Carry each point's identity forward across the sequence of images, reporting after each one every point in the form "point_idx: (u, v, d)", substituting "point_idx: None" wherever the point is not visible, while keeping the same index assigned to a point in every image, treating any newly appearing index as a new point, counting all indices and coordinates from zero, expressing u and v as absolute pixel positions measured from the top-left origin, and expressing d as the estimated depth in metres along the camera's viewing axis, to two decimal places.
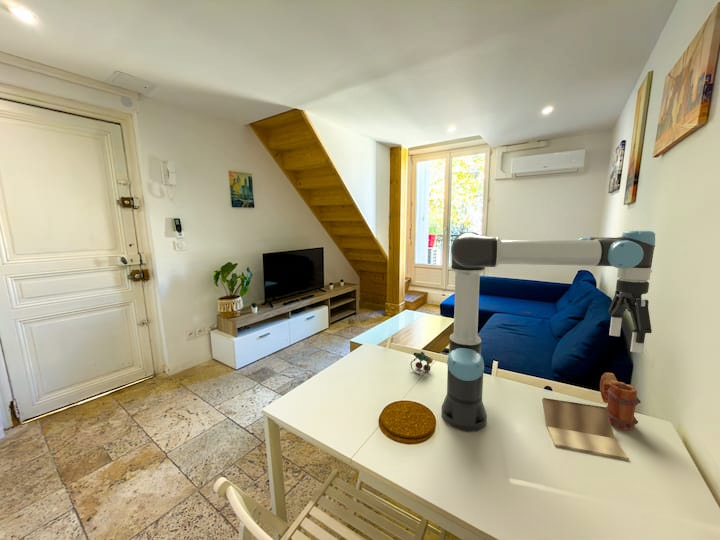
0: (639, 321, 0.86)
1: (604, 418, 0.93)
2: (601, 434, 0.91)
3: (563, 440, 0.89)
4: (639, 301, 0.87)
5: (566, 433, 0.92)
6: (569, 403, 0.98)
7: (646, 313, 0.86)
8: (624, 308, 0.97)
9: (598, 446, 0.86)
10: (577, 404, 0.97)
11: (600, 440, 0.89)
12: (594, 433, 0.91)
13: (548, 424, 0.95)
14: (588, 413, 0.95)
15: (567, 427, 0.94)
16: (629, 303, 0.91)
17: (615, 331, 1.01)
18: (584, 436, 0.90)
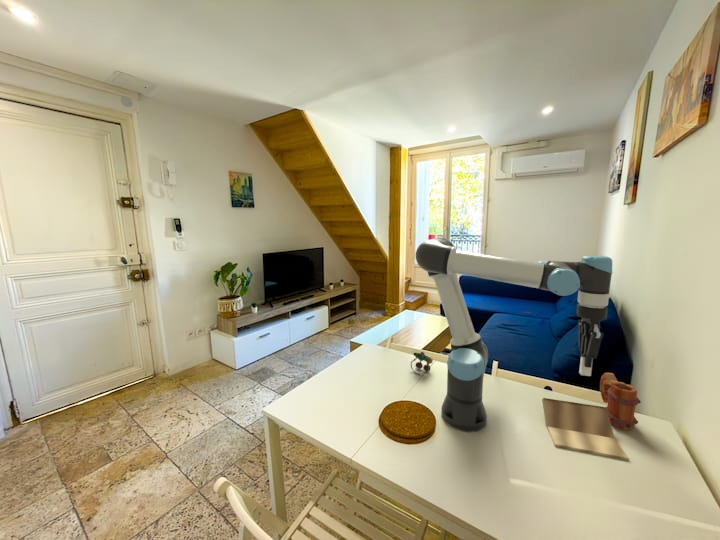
0: (588, 349, 0.90)
1: (604, 418, 0.93)
2: (601, 434, 0.91)
3: (563, 440, 0.89)
4: (594, 335, 0.87)
5: (566, 433, 0.92)
6: (569, 403, 0.98)
7: (597, 344, 0.88)
8: None
9: (598, 446, 0.86)
10: (577, 404, 0.97)
11: (600, 440, 0.89)
12: (594, 433, 0.91)
13: (548, 424, 0.95)
14: (588, 413, 0.95)
15: (567, 427, 0.94)
16: (587, 330, 0.91)
17: None
18: (584, 436, 0.90)
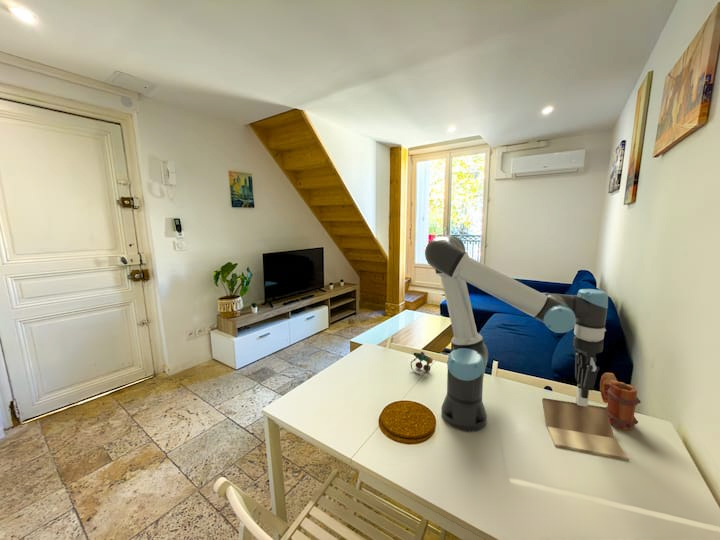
0: (585, 381, 0.92)
1: (604, 418, 0.93)
2: (601, 434, 0.91)
3: (563, 440, 0.89)
4: (590, 368, 0.89)
5: (566, 433, 0.92)
6: (569, 403, 0.98)
7: (593, 377, 0.90)
8: None
9: (598, 446, 0.86)
10: None
11: (600, 440, 0.89)
12: (594, 433, 0.91)
13: (548, 424, 0.95)
14: (588, 413, 0.95)
15: (567, 427, 0.94)
16: (583, 362, 0.93)
17: None
18: (584, 436, 0.90)
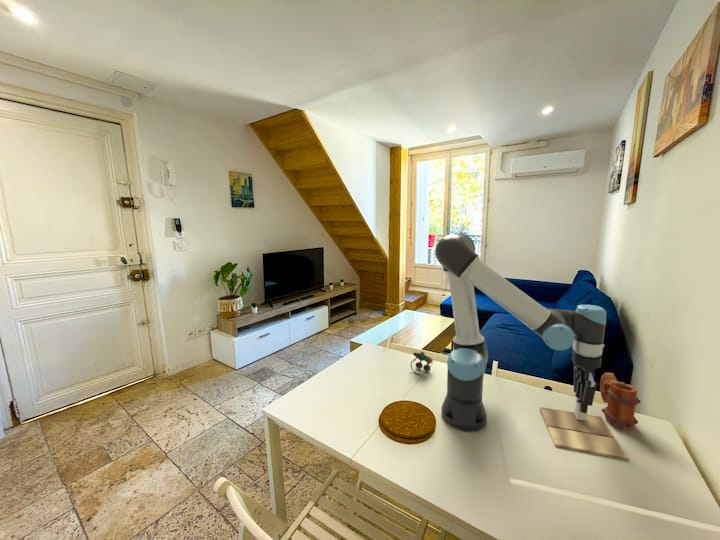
0: (584, 396, 0.93)
1: (600, 423, 0.95)
2: (600, 433, 0.91)
3: (563, 440, 0.89)
4: (589, 384, 0.90)
5: (566, 433, 0.92)
6: (565, 412, 1.01)
7: (592, 392, 0.91)
8: None
9: (598, 446, 0.86)
10: (573, 413, 1.00)
11: (600, 440, 0.89)
12: (593, 432, 0.92)
13: (547, 424, 0.96)
14: None
15: (566, 427, 0.94)
16: (582, 377, 0.94)
17: None
18: (584, 436, 0.90)
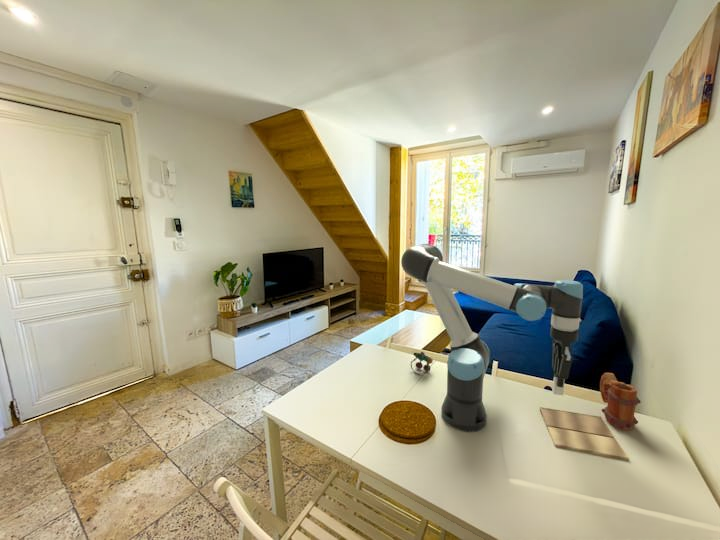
0: (560, 370, 0.94)
1: (600, 423, 0.95)
2: (600, 433, 0.91)
3: (563, 440, 0.89)
4: (565, 357, 0.91)
5: (566, 433, 0.92)
6: (565, 412, 1.01)
7: (568, 366, 0.92)
8: None
9: (598, 446, 0.86)
10: (573, 413, 1.00)
11: (600, 440, 0.89)
12: (593, 432, 0.92)
13: (547, 424, 0.96)
14: (585, 419, 0.97)
15: (566, 427, 0.94)
16: (559, 352, 0.95)
17: None
18: (584, 436, 0.90)
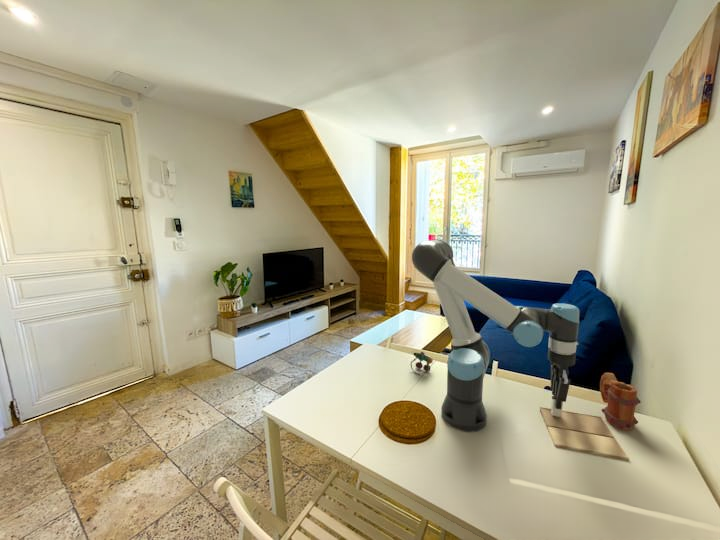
0: (558, 393, 0.95)
1: (600, 423, 0.95)
2: (600, 433, 0.91)
3: (563, 440, 0.89)
4: (562, 381, 0.92)
5: (566, 433, 0.92)
6: (565, 412, 1.01)
7: (566, 389, 0.93)
8: None
9: (598, 446, 0.86)
10: (573, 413, 1.00)
11: (600, 440, 0.89)
12: (593, 432, 0.92)
13: (547, 424, 0.96)
14: (585, 419, 0.97)
15: (566, 427, 0.94)
16: (557, 374, 0.96)
17: None
18: (584, 436, 0.90)
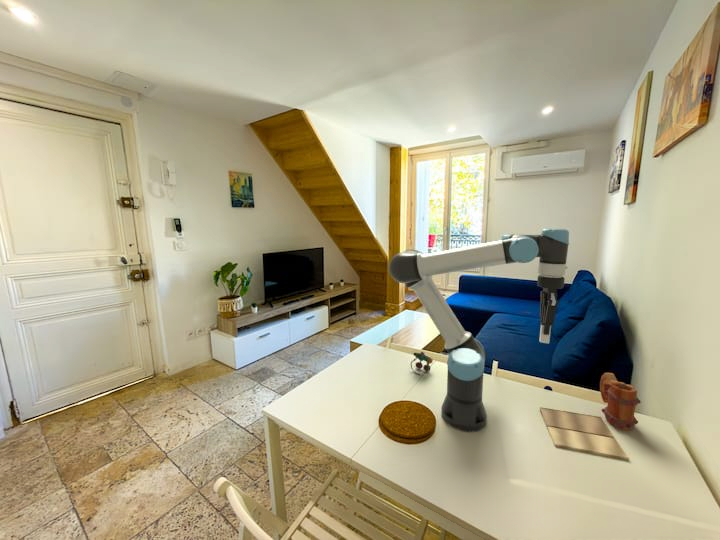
0: (546, 316, 0.96)
1: (600, 423, 0.95)
2: (600, 433, 0.91)
3: (563, 440, 0.89)
4: (550, 302, 0.93)
5: (566, 433, 0.92)
6: (565, 412, 1.01)
7: (553, 311, 0.94)
8: None
9: (598, 446, 0.86)
10: (573, 413, 1.00)
11: (600, 440, 0.89)
12: (593, 432, 0.92)
13: (547, 424, 0.96)
14: (585, 419, 0.97)
15: (566, 427, 0.94)
16: (545, 299, 0.97)
17: None
18: (584, 436, 0.90)
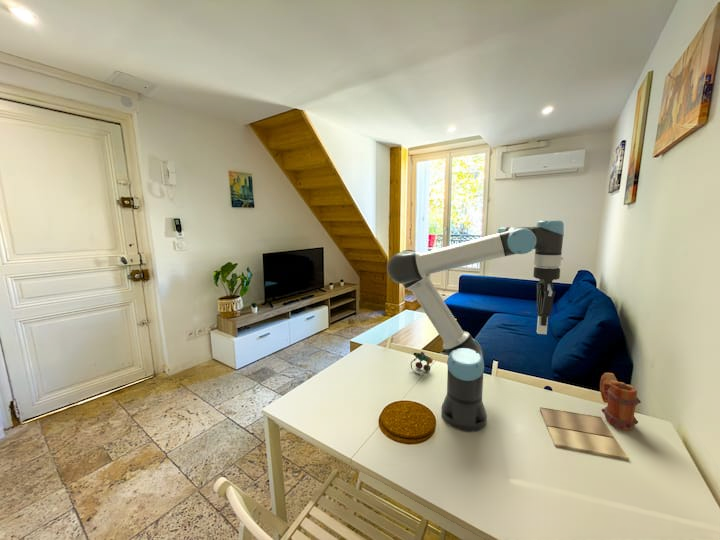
0: (543, 307, 0.97)
1: (600, 423, 0.95)
2: (600, 433, 0.91)
3: (563, 440, 0.89)
4: (547, 293, 0.93)
5: (566, 433, 0.92)
6: (565, 412, 1.01)
7: (550, 302, 0.95)
8: None
9: (598, 446, 0.86)
10: (573, 413, 1.00)
11: (600, 440, 0.89)
12: (593, 432, 0.92)
13: (547, 424, 0.96)
14: (585, 419, 0.97)
15: (566, 427, 0.94)
16: (542, 290, 0.98)
17: None
18: (584, 436, 0.90)
